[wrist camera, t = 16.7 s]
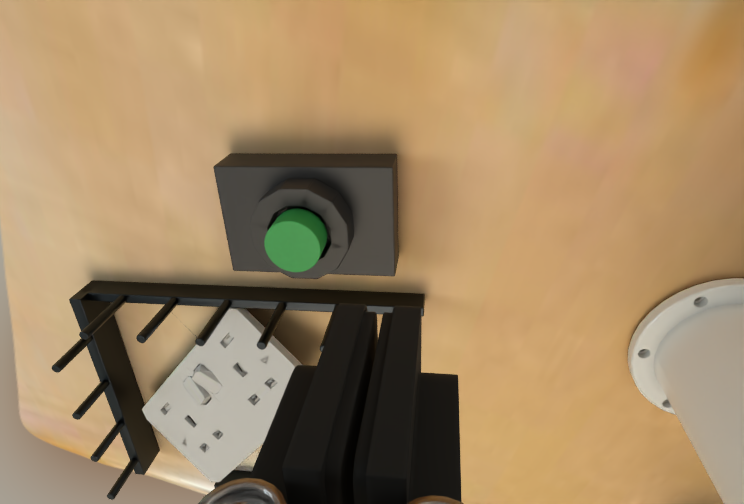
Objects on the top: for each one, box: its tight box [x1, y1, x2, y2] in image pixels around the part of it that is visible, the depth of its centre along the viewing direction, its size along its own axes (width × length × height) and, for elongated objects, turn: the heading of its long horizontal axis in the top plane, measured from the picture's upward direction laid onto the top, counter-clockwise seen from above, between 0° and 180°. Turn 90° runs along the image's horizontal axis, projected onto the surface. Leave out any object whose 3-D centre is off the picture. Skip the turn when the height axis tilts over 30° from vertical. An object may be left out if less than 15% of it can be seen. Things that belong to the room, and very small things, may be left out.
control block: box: [214, 154, 399, 279], centre depth 34 cm, size 12×8×5 cm, turn 92°
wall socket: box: [142, 307, 302, 482], centre depth 44 cm, size 18×15×4 cm
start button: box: [264, 208, 327, 272], centre depth 32 cm, size 4×4×2 cm
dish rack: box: [52, 281, 425, 499], centre depth 43 cm, size 28×24×7 cm
